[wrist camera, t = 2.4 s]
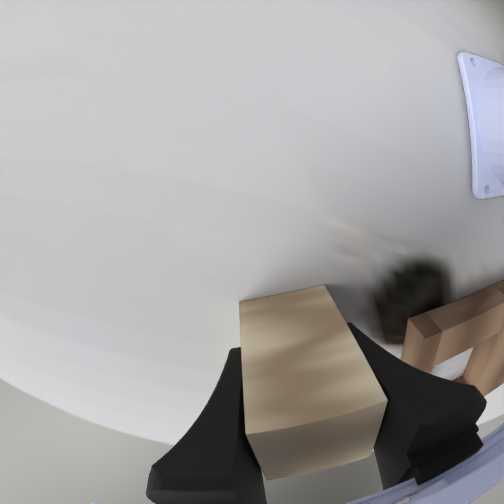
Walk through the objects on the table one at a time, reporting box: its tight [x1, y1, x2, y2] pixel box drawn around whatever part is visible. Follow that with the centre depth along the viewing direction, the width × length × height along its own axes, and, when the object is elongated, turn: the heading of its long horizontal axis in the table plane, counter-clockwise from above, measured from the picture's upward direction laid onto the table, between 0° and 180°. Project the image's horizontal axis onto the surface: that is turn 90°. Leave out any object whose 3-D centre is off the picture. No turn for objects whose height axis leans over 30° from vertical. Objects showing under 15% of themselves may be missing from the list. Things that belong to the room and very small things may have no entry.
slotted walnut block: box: [401, 280, 504, 397], centre depth 15 cm, size 18×12×2 cm, turn 100°
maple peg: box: [239, 285, 388, 480], centre depth 10 cm, size 4×4×7 cm
